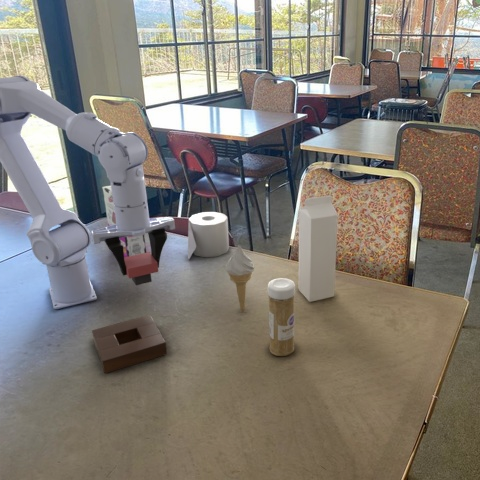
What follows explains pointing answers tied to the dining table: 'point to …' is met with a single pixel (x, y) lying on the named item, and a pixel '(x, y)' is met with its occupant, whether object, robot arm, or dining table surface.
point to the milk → (317, 248)
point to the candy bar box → (130, 243)
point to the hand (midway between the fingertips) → (140, 269)
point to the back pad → (141, 267)
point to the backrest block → (130, 352)
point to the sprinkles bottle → (281, 316)
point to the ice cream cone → (240, 273)
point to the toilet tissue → (208, 234)
